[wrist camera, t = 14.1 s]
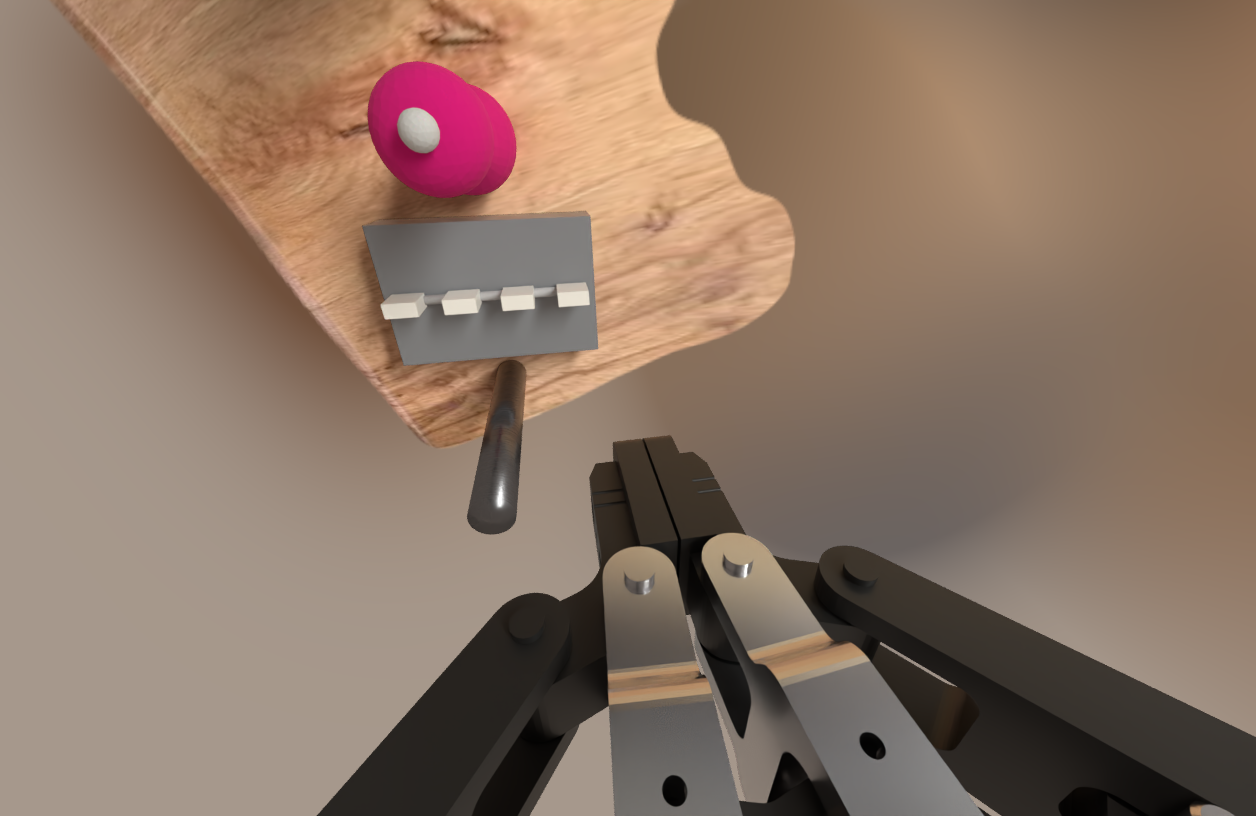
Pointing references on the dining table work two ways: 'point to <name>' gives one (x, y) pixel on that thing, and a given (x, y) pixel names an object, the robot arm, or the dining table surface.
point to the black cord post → (500, 454)
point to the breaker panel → (487, 282)
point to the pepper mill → (440, 131)
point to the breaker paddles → (483, 299)
